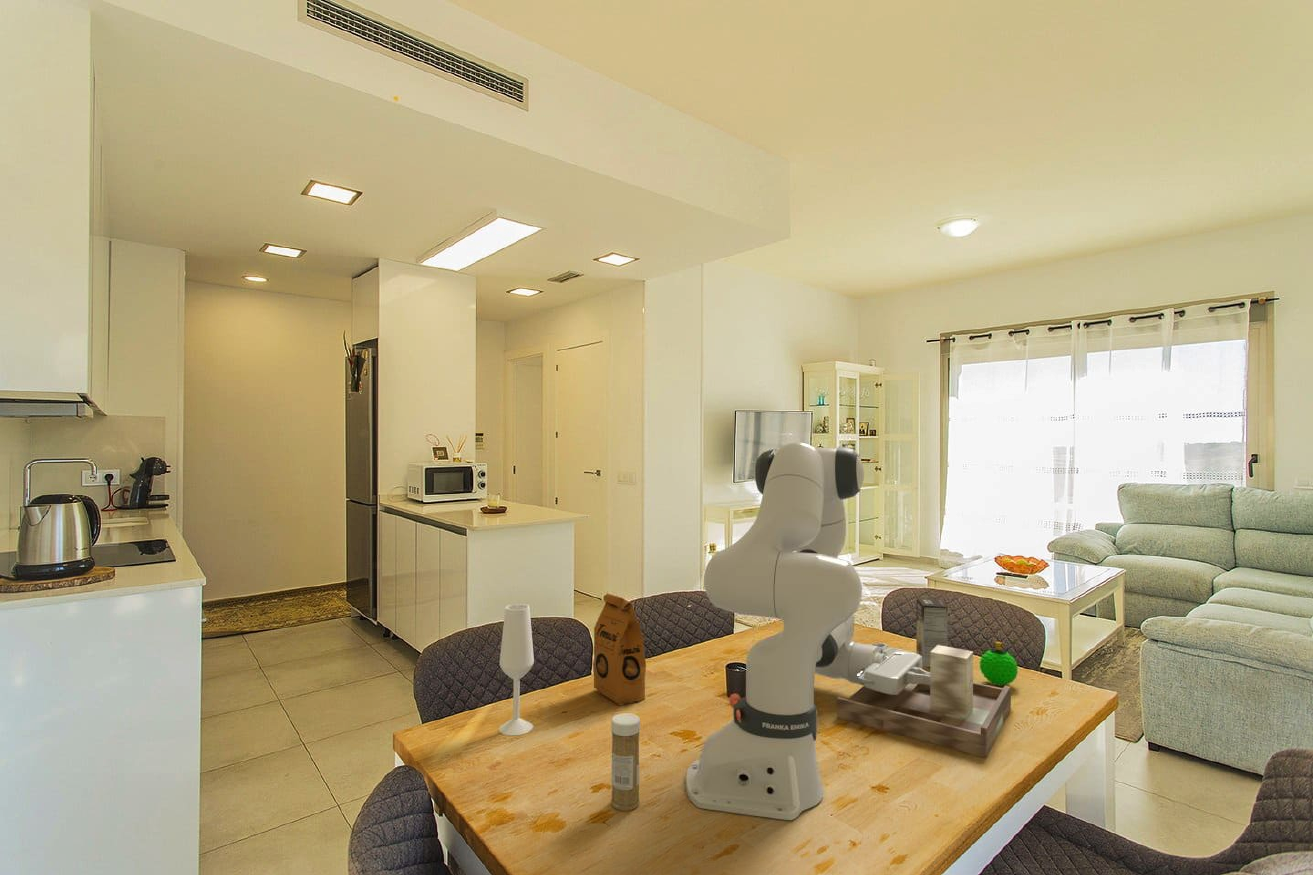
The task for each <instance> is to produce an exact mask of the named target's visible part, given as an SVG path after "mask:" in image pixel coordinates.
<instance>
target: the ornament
mask: <svg viewBox="0 0 1313 875" xmlns="http://www.w3.org/2000/svg"><path fill="white" fill-rule="evenodd" d="M1002 644H1003V643H1002V642H1001V641H995V648H991V649H990V650H988V651H986V652H984V653H983V655H981V658H980V659H979V660H980V661H979V668H980V671H981V674H982V675H983V676H984V678H986V680H987V681H988V682H991V684H995V685H996V686H1008V685H1009V684H1010V683H1012V682H1014V680H1015V679H1017V675H1018V673H1019V672H1018V669H1019V668H1018V665H1017V664H1018V663H1017V661H1016V660H1015V658H1014V657H1013V656H1012V655H1011V653H1008V652H1007V651H1006V650H1004V649H1003V648H1002Z"/></svg>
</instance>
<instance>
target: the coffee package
mask: <svg viewBox="0 0 1313 875" xmlns="http://www.w3.org/2000/svg"><path fill="white" fill-rule="evenodd" d="M602 600H603V601H605V604H604V606H603V608H602V610H601V612H600V614H599V616H598V618H597V621H596V623H595V626H594V628H593V629H594V630H593V633H594V634H593V635H594V636H593V638H594V640H593V641H594V642H593V657H594V658H593V663H592V667H593V669H592V671H593V689H596V690H597V691H598V692H600V693H601V694H602V695H604V696H605V697H606V698H608V699H609V700H611V701H612V702H613V703H615V704H616V705H618V706H622V705H624V704H631V703H637V702H641V701H644V700H645V699H646V671H647V664H646V655H645V654H646V653H645V645H644V635H643V633H642V630H641V625H640V623H639V621H638V617H637V614H636V612H635V610H634V606H633V604H632V602H631V601H629V600H627V599H625V598H624V597H621V596H618V595H614V594H613V593H612V594H611V593H608V592H607V593H606V594H605V595H604V596H603V599H602Z"/></svg>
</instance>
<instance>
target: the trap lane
mask: <svg viewBox="0 0 1313 875" xmlns="http://www.w3.org/2000/svg"><path fill="white" fill-rule="evenodd" d="M1003 686H1004V687H1003V688H1002V687H997V686H994V685H993V686H992V685H988V684H984V683H983V684H982V683H977V682H974V681H973V710H972V711H971V713H970V715H969V716H968V718H967V719H966V718H962V717H958V716H954V715H950V714H945V713H941V712H937V711H933V710H930V685H926V684H911V683H909V684H908V685H907V686H906V687H905V688H904V689H903V690H902V691H901V692H900V693H899V694H898V695H889V694H885V693H882V692H878V691H875V690H872V689H869V688H867V687H865V686H864V685H862V687H861V688H859V689H858V690H857V691H855V693H853V694H852V695H851V696H850V697H849V698H843V697H840V696H839V697H837V700H836V701H837V713H836V714H837V716H836V717H837V718H838V719H841V720H845V721H849V722H852V723H855V724H859V725H862V726H867V727H871V728H874V729H878V730H882V731H885V732H888V733H893V734H897V735H899V736H904V737H907V738H910V739H915V740H919V741H923V742H925V743H926V742H927V743H929V744H933V745H937V746H940V747H944V748H949V749H952V750H955V751H960V752H964V753H967V754H970V755H974V756H977V757H982V758H987V757H988V754H989V753H990V751H991V748H992V746H993V745H994V743H995V742H996V741H995V740H996V738H997V737H998V734H999V733H1000V730H1001V729H1002V727H1003V725H1004V723H1005V721H1006V719H1007V717H1008V715H1009V713H1010V711H1011V708H1012V706H1011V705H1012V704H1011V703H1012V702H1011V701H1012V700H1011V699H1012V698H1011V696H1012V694H1011V693H1012V692H1011V691H1012V690H1011V686H1008V685H1003Z"/></svg>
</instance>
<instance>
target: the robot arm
mask: <svg viewBox="0 0 1313 875" xmlns="http://www.w3.org/2000/svg"><path fill="white" fill-rule="evenodd" d="M754 466H755V467H754V471H753V472H754V480H755V484H756V488H757V490H758V492H759V493H760V494H761V495H762V498H761V502H760V505H759V509H758V513H757V516H756V519H755V521H754V522H753V523H752V525H751V527H750V528H749V529H748V531H746V533H745V534H744V535H743V536H742V537H740V538H739V539H738V540H737V541H736V542H734V543H733V544H731V545H729V546H728V547H726V548H724V549H721V550H719V551H717V552H715V554H714V555H713V556H712V557H711V559H710V560H708V563H707V565H706V567H705V571H704V576H703V585H704V590H705V593H706V595H707V598H708V600H709V601H710V603H711V604H712V605H713V606H714V607H715V608H718V609H722V610H724V611H728V612H730V613H734V614H738V615H744V616H752V617H761V618H772V619H778V620H781V621H782V622H783V627H782V628H783V630H782V631H779V632H778V633H776V634H772V635H771V636H770V635H769V636H768V637H765V638H763V639H762V640H759V641H757V642H756V643H755V644H753V645H752V646H751V648H750V649H749V651H748V653H747V655H746V659H745V663H746V664H745V667H746V668H745V679H746V680H745V696H744V697H742V698H741V696H740V695H739V694H738V693H732V694H730V696H729V699H728V700H729V701H728V702H729V705H730V707H731V708H732V709H733V712H732V713H733V720H731V721H729V722H727V724H725V725H724V726H722V727H721V728H719V729H718V730H716V731H715V732H713V733H711V734H710V735H709V736H708V737H707V738H706V739H705V741H704V743H703V746H702V748H701V753H700V756H699V759H697V760H695V761H693V762H692V763H691V764H690V765H689V766H688V769H687V772H686V777H685V790H686V793H687V797H688V798H689V799H690V801H691V802H692V803H693V804H694V805H695V807H697V808H699V809H705V810H711V811H719V812H725V813H726V812H727V813H732V814H741V815H746V816H747V815H748V816H754V817H755V816H756V817H761V818H762V817H763V818H770V819H776V820H777V819H778V820H783V821H784V820H785V821H792V820H795V819H797V818H798V817H799V815H800V814H801V813H802V812H804V811H805V810H808V809H811V808H812V807H815V806H816V805H818V804H819V803H820V802H821V801H822V799H823V797H824V795H825V794H824V793H825V792H824V788H823V784H822V779H821V776H820V771H819V767H818V766H819V765H818V759H817V751H816V742H815V741H816V740H817V733H818V711H817V705H816V704H815V700H814V699H815V692H814V690H815V676H816V675H819V676H822V677H826V678H829V679H835V680H836V679H837V680H838V679H840V680H846V681H847V682H849V683H851V684H856V685H859V686H860V685H861V686H865V687H867V688H869V689H872V690H875V691H878V692H882V693H885V694H889V695H898V694H899V693H900V692H901V691H902V690H903V689H904V688H905V687H906V686H907V685H908V684H909V683H911V684H926V685H930V671H927V670H924V669H923V666H922V656H921V655H919V654H917V653H916V652H914V651H909V650H906V649H901V648H897V647H890V646H889V647H888V644H887V643H883V642H879V643H873V644H869V643H865V644H864V643H860V642H856V641H854V640H853V636H854V631H855V617H854V614H855V613H856V612H857V610H858V609H859V606H860V604H861V602H862V595H863V588H862V581H861V578H860V576H859V573H858V572H857V570H856V568H855V567H854V566H853V565H852V563H851V562H849V561H848V560H845V559H842V558H839V556H840V554H841V552H842V550H843V549H844V547H845V543H846V535H847V518H846V511H845V510H846V509H845V508H846V507H845V503H844V501H845V500H847V499H850V498H853V497H855V496H856V495H857V494H858V493H859V492H861V488H862V485H863V483H864V479H865V470H864V465H863V462H862V460H861V459H860V455H859V453H858V452H856V451H855V450H854V449H853V448H848V447H844V446H838V447H837V448H835V447H822V446H821V447H819V446H818V447H817V446H812V445H811V444H808V443H804V442H798V441H796V442H790V443H789V442H788V443H786V444H785V445H783V446H781V447H780V448H779V449H777V448H774V449H769V450H766V451H763V452H762V453H761V454H760V455H759V456H758V457H757V458H756V462H755V465H754ZM815 674H816V675H815Z"/></svg>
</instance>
